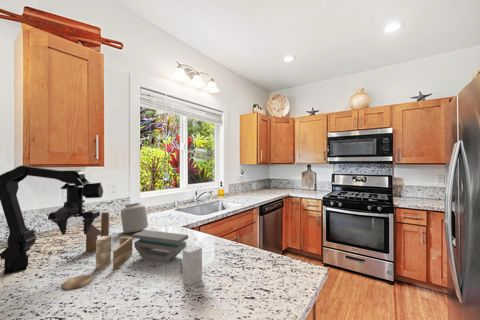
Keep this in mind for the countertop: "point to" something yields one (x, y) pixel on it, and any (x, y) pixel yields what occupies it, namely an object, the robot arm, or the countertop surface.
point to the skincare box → (192, 265)
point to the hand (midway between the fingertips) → (74, 234)
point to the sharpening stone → (159, 245)
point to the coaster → (77, 282)
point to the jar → (134, 218)
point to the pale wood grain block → (103, 252)
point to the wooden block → (97, 232)
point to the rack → (122, 252)
